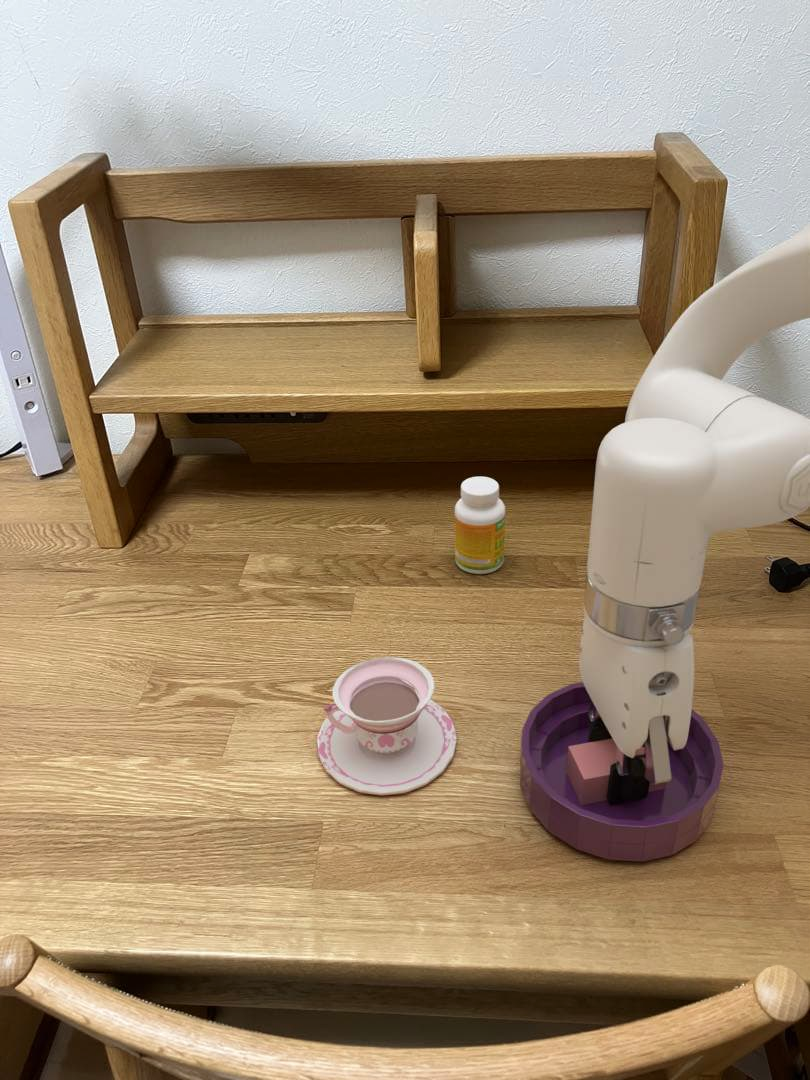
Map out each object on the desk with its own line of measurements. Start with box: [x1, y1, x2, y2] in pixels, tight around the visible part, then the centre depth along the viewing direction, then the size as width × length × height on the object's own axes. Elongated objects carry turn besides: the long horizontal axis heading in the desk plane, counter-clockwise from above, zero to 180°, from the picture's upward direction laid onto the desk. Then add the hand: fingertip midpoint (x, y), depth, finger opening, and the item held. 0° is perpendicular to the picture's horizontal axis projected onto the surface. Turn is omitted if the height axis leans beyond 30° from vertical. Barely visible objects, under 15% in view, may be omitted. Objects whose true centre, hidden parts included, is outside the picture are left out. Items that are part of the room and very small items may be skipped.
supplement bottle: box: [454, 476, 506, 575], centre depth 96 cm, size 5×5×10 cm
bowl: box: [519, 681, 724, 862], centre depth 71 cm, size 15×15×4 cm
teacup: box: [316, 656, 458, 796], centre depth 75 cm, size 12×12×6 cm
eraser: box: [566, 738, 666, 805], centre depth 71 cm, size 7×4×3 cm, turn 102°
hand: (616, 776), depth 72 cm, fingers closed on eraser, 3 cm apart
